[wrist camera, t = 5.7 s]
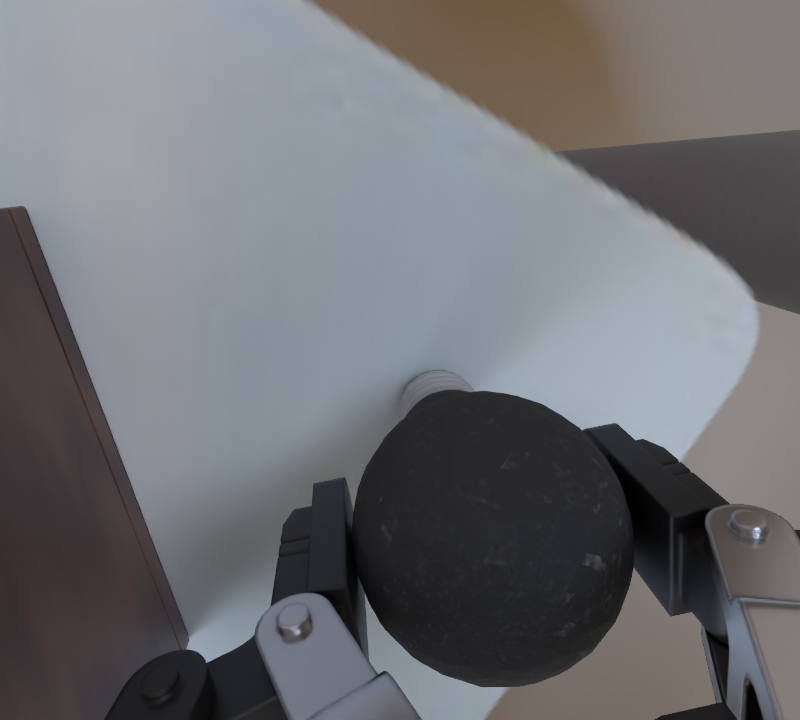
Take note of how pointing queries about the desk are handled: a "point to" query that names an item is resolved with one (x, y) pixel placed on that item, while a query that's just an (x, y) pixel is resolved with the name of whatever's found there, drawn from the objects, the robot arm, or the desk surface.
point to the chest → (65, 516)
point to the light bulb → (491, 535)
